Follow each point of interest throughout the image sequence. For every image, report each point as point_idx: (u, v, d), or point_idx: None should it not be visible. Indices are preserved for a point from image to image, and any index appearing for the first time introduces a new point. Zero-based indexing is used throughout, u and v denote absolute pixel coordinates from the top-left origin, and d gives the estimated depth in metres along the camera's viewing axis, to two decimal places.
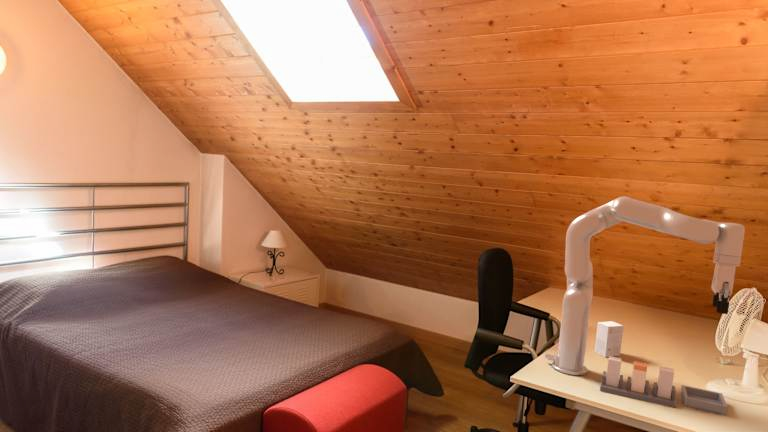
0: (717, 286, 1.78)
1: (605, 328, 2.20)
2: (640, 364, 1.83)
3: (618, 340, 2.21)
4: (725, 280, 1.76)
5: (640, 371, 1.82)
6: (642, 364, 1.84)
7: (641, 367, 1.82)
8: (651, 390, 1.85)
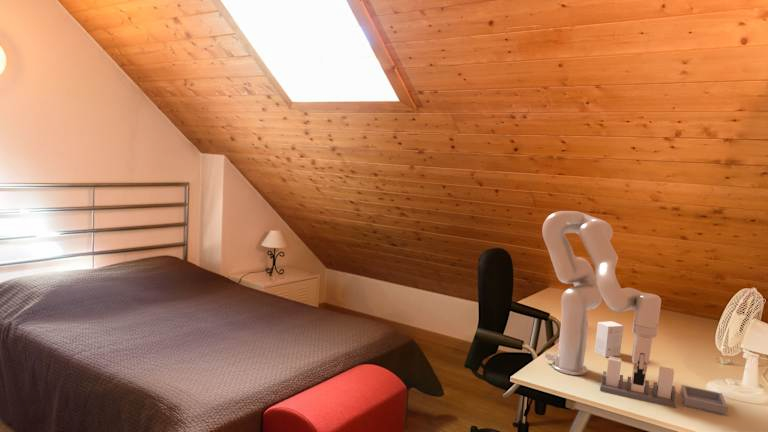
0: (634, 357, 1.80)
1: (605, 328, 2.20)
2: None
3: (618, 340, 2.21)
4: (642, 352, 1.79)
5: None
6: None
7: None
8: (651, 390, 1.85)
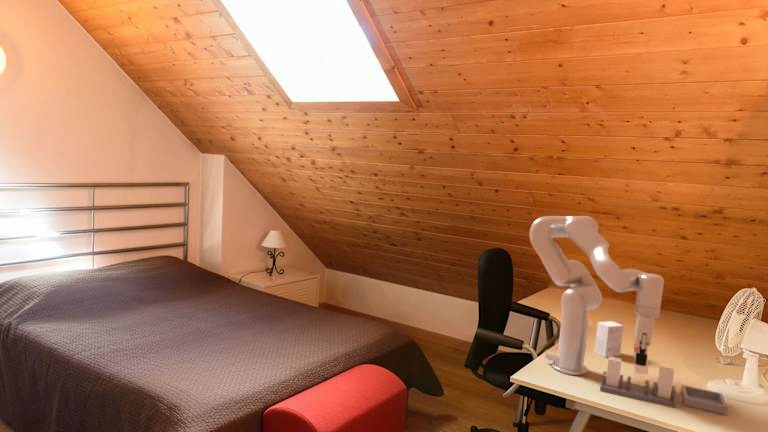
0: (636, 337, 1.79)
1: (605, 328, 2.20)
2: (640, 346, 1.83)
3: (618, 340, 2.21)
4: (644, 332, 1.78)
5: None
6: None
7: None
8: (651, 390, 1.85)
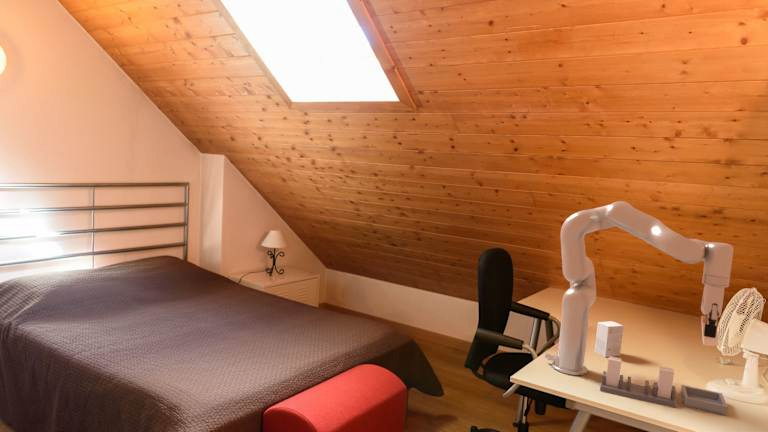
0: (706, 308, 1.74)
1: (605, 328, 2.20)
2: None
3: (618, 340, 2.21)
4: (714, 302, 1.73)
5: None
6: (710, 317, 1.78)
7: None
8: (651, 390, 1.85)
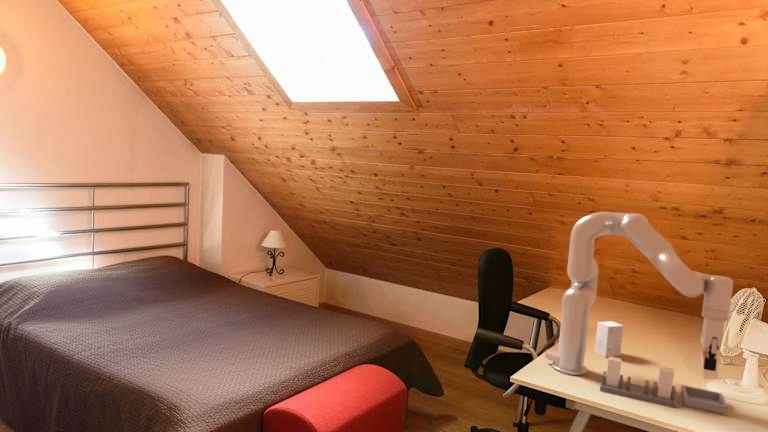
0: (706, 341, 1.75)
1: (605, 328, 2.20)
2: None
3: (618, 340, 2.21)
4: (714, 336, 1.73)
5: None
6: None
7: None
8: (651, 390, 1.85)
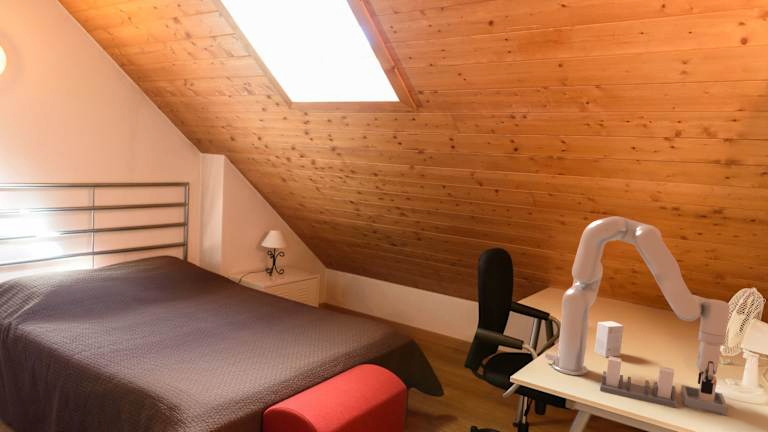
0: (702, 365, 1.75)
1: (605, 328, 2.20)
2: None
3: (618, 340, 2.21)
4: (710, 360, 1.74)
5: None
6: None
7: None
8: (651, 390, 1.85)
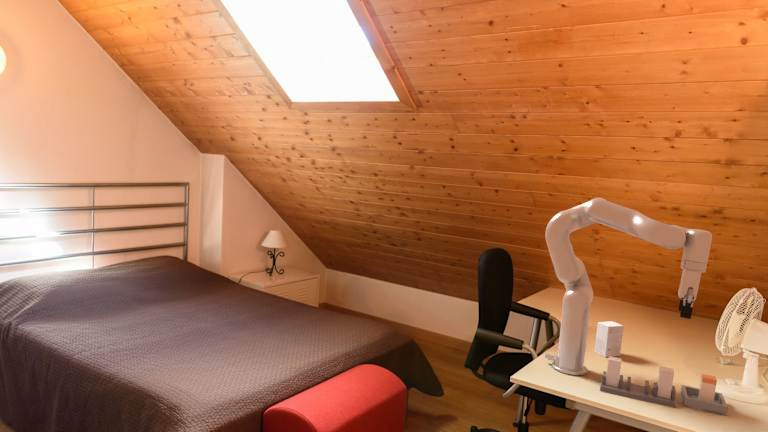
0: (682, 291, 1.81)
1: (605, 328, 2.20)
2: (709, 377, 1.79)
3: (618, 340, 2.21)
4: (690, 286, 1.79)
5: (709, 384, 1.77)
6: (710, 377, 1.79)
7: (710, 380, 1.77)
8: (651, 390, 1.85)
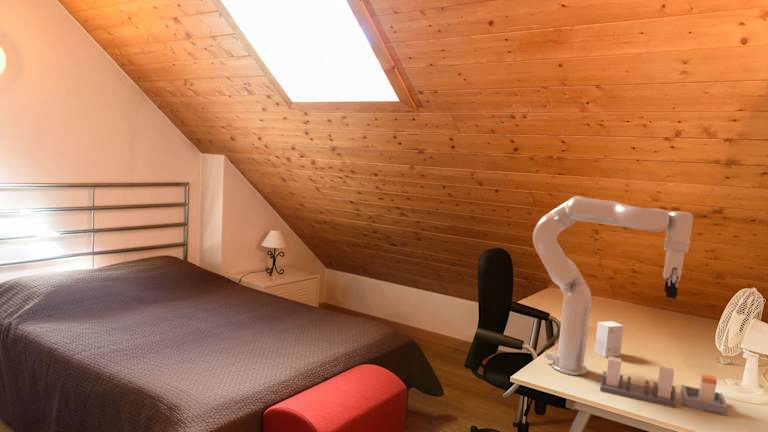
0: (666, 272, 1.85)
1: (605, 328, 2.20)
2: (709, 377, 1.79)
3: (618, 340, 2.21)
4: (674, 266, 1.84)
5: (709, 384, 1.77)
6: (710, 377, 1.79)
7: (710, 380, 1.77)
8: (651, 390, 1.85)
